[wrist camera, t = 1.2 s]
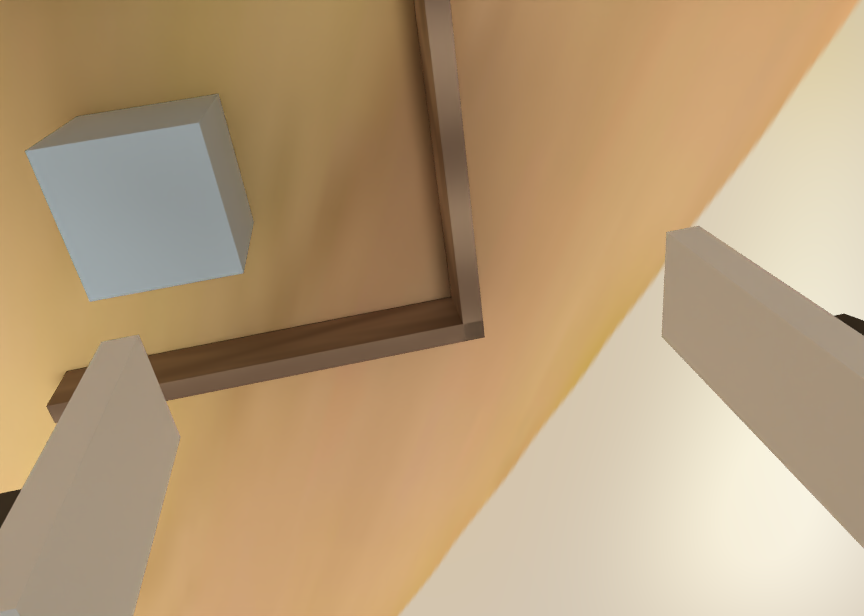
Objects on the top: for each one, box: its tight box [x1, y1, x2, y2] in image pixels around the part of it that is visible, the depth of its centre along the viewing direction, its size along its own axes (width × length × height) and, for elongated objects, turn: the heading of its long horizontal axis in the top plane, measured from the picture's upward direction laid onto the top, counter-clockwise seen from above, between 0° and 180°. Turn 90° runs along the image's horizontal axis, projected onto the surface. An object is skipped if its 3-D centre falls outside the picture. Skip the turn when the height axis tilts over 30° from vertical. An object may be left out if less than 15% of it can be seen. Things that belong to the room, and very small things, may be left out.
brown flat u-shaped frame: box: [46, 0, 485, 423], centre depth 29 cm, size 20×21×3 cm
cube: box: [25, 94, 254, 302], centre depth 27 cm, size 6×6×6 cm
